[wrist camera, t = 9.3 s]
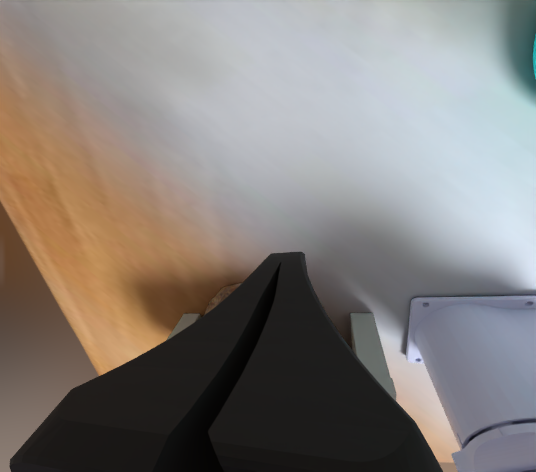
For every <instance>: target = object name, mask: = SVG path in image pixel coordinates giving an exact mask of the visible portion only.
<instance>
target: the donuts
mask: <svg viewBox="0 0 536 472" xmlns="http://www.w3.org/2000/svg"><path fill="white" fill-rule="evenodd" d="M533 68H534V74H535V78H536V35H535V40H534V47H533Z"/></svg>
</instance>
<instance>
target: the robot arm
mask: <svg viewBox="0 0 536 472" xmlns="http://www.w3.org/2000/svg"><path fill="white" fill-rule="evenodd" d="M423 303H426V304H423ZM406 359H407V361H408V362H410V363H424V364H425V366H426V369H427V371H428V373H429V376H430V378H431V380H432V383H433V385H434V388H435V390H436V392H437V395H438V397H439V399H440V402H441V404H442V407H443V409H444V411H445V414H446V416H447V418H448V421H449V423H450V426H451V428H452V430H453V433H454V435H455V437H456V440H457V442H458V445H459V447H460V449H461V450H460V451H458V452H455V453H452V454H451V455H452V458H453V460H454V463H455V465H456V468H457V470H458V472H536V296H482V297H423V298H414V299H413V300H412V301H411V307H410V318H409V328H408V339H407V350H406ZM10 469H11V472H443V471H442V469H441V467H440V465H439V463H438V461H437V459H436V458H435V456H434V454H433V452H432V450H431V448H430V447H429V445H428V443H427V441H426V440H425V438H424V436H423V434H422V433H421V431H420V429H419V427H418V426H417V424H416V423H415V421H414V420H413V419H412V418H411V417H410V416H409V415H408V414H407V413H406V412H405V410H404V409H403V408H402V407H401V406H400V405H399V404H398V403H397V402H396V401H395V400H394V399H393V398H392V397H391V395H390V394H389V393H388V392H387V391H386V390H385V389H384V388H383V387H382V386H381V384H380V383H379V382H378V381H377V380H376V379H375V378H374V376H373V375H372V374H371V373H370V372H369V370H368V369H367V368H366V367H365V366H364V365H363V363H362V362H361V361H360V360H359V358H358V357H357V356H356V355H355V353H354V352H353V351H352V349H351V348H350V347H349V345H348V344H347V343H346V341H345V340H344V339H343V338H342V336H341V335H340V333H339V332H338V331H337V329H336V328H335V326H334V325H333V323H332V322H331V320H330V318H329V317H328V315H327V314H326V312H325V310H324V309H323V307H322V305H321V303H320V301H319V299H318V297H317V295H316V293H315V291H314V289H313V287H312V285H311V282H310V280H309V277H308V274H307V268H306V260H305V254H304V253H302V252H289V253H274V254H270V255H269V256H268V257H267V258H266V259H265V260H264V261H263V262H262V263H261V265H260V266H259V267H258V268H257V269H256V270H255V271H254V272H253V273H252V274H251V275H250V276H249V277H248V278H247V279H246V280H245V281H244V282H243V283H242V284H241V285H240V286H239V287H237V288H236V289H235V290H234V291H233V292H232V293H231V294H230V295H229V296H228V297H227V298H225V299H224V300H223V301H222V302H221V303H219V304H218V305H217V306H216V307H215V308H213V309H212V310H211V311H209V312H208V313H207V314H205V315H204V316H203V317H201V318H200V319H199V320H197V321H196V322H194V323H193V324H191V325H190V326H188V327H187V328H185V329H184V330H182V331H180V332H179V333H177V334H176V335H174V336H173V337H171V338H170V339H168V340H166V341H165V342H163V343H161V344H160V345H158V346H156V347H155V348H153V349H151V350H149V351H147V352H146V353H144V354H142V355H140V356H138V357H137V358H135V359H133V360H131V361H129V362H127V363H125V364H123V365H121V366H119V367H117V368H115V369H113V370H111V371H109V372H107V373H105V374H103V375H101V376H99V377H97V378H95V379H92V380H90V381H88V382H86V383H84V384H82V385H80V386H78V387H75V388H73V389H72V390H71V391H70V392H69V393H68V394H67V395H66V396H65V398H64V399H63V400H62V401H61V402H60V403H59V404H58V406H57V407H56V408H55V409H54V410H53V411H52V412H51V414H50V415H49V416H48V417H47V418H46V419H45V420H44V422H43V423H42V424H41V425H40V426H39V427H38V429H37V430H36V431H35V432H34V433H33V434H32V435H31V437H30V438H29V439H28V440H27V441H26V442H25V444H24V445H23V446H22V447H21V448H20V449H19V450H18V451H17V453H16V454H15V455H14V456H13V457H12V458H11V459H10Z"/></svg>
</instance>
